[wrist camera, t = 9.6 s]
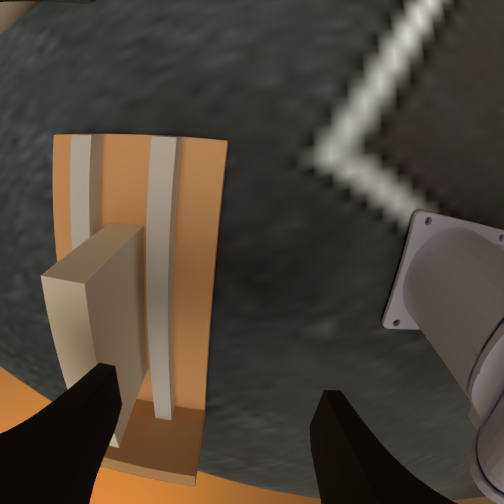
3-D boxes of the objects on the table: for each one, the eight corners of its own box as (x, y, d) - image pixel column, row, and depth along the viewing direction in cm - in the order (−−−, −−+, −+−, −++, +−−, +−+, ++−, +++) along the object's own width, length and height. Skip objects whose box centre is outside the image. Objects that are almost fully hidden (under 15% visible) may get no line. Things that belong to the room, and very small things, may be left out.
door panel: (143, 226, 17) (84, 284, 10) (148, 368, 20) (118, 447, 14) (110, 222, 16) (41, 275, 10) (121, 362, 20) (85, 438, 13)
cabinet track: (228, 140, 16) (213, 144, 9) (205, 413, 23) (195, 486, 16) (62, 134, 16) (-18, 144, 9) (89, 390, 23) (58, 452, 16)
